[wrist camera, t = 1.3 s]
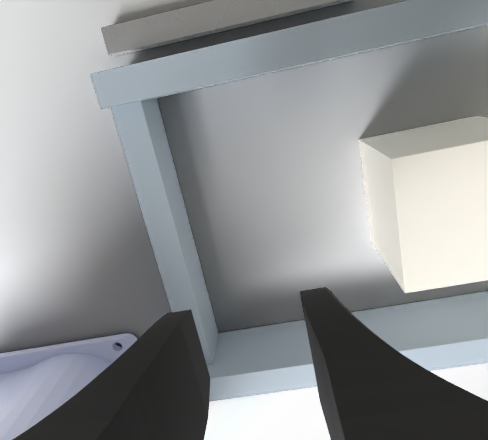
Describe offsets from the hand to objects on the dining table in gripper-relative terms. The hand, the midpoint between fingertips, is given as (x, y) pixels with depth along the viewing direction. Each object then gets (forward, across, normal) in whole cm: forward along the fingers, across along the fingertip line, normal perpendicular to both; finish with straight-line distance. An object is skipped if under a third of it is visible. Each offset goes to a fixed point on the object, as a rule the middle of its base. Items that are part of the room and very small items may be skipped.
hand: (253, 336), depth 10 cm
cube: (+10, -8, 0) cm, 12 cm away
